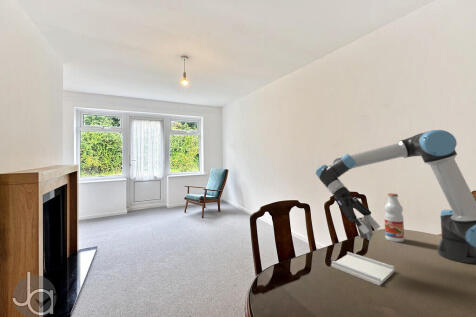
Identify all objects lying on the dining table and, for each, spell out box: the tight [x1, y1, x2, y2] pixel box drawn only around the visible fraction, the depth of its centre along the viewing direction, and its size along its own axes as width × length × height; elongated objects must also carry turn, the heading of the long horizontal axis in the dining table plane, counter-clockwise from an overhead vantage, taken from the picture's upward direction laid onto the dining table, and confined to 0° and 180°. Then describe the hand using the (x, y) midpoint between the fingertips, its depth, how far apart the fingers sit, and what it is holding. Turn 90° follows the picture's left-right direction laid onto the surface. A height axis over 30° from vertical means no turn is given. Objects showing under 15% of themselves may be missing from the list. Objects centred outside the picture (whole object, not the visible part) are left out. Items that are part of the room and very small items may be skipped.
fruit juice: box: [384, 192, 405, 243], centre depth 131 cm, size 9×9×28 cm
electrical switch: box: [356, 215, 374, 241], centre depth 98 cm, size 9×5×9 cm, turn 140°
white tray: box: [330, 251, 396, 286], centre depth 97 cm, size 20×17×2 cm
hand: (372, 230), depth 95 cm, fingers closed on electrical switch, 9 cm apart
